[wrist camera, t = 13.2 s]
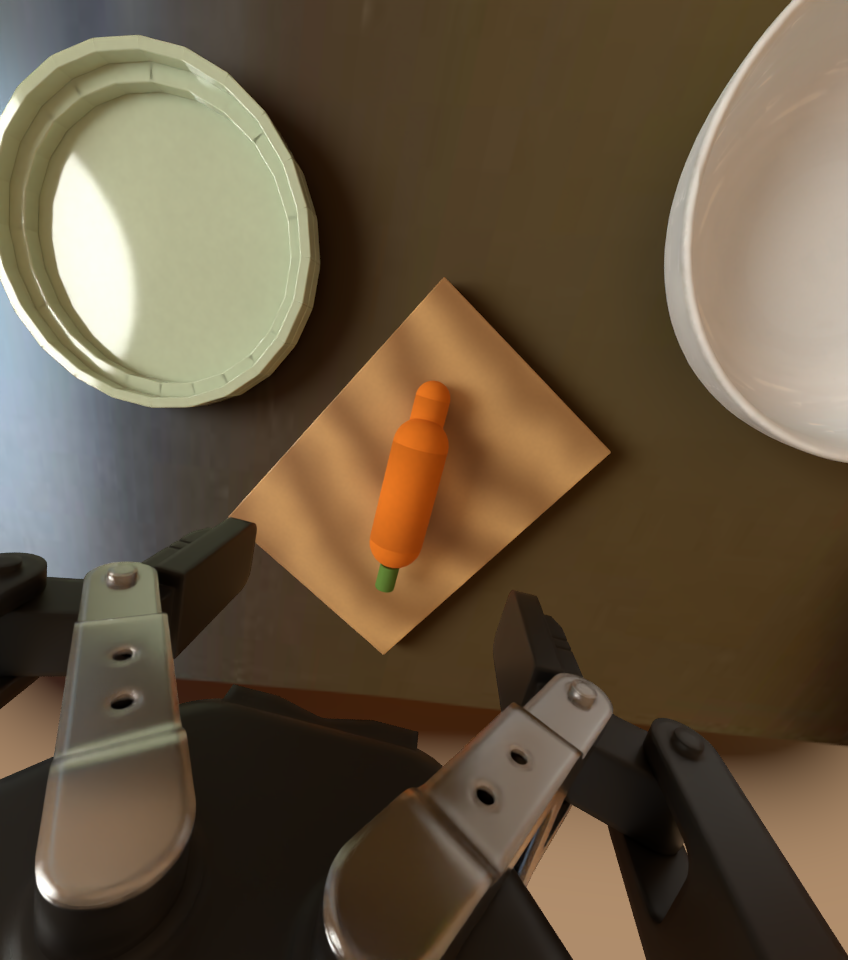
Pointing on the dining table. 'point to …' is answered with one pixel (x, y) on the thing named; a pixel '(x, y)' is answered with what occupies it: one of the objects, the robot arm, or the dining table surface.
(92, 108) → the plate
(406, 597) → the cutting board
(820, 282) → the serving bowl
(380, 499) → the carrot
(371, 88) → the dining table surface
